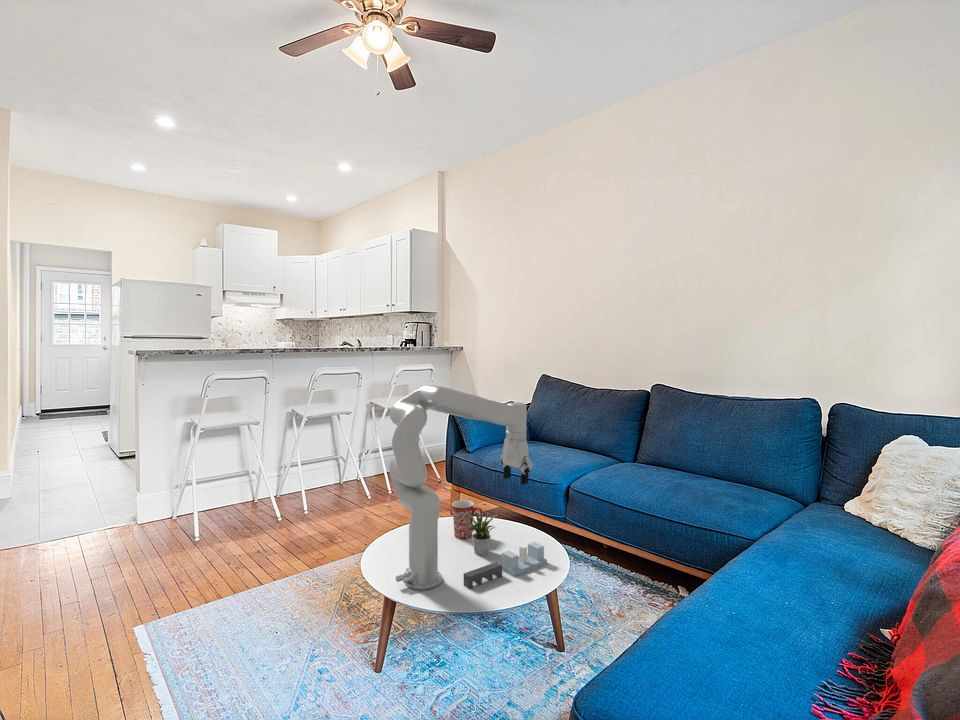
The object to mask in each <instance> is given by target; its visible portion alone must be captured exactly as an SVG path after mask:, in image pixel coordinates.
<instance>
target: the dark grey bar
mask: <svg viewBox="0 0 960 720" xmlns="http://www.w3.org/2000/svg"><path fill="white" fill-rule="evenodd" d="M494 576H495V577H496V578H503V570H502V565H501V564H500V563H499V562H498V561H496V562H492V563H490V564H487V565H484V566H481V567H479V568H475V569H472V570H470V571H467V572H463V586H464V587H465V588H467V589H468V590H471V589H473V588H474V583H475V584H477V585H478V586H481V585H482V584H483V579H484V578H485V579H486V580H487V581H488V582H489V581H490V582H492V581H493V580H494V578H493V577H494Z"/></svg>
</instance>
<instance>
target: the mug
mask: <svg viewBox="0 0 960 720" xmlns="http://www.w3.org/2000/svg"><path fill="white" fill-rule="evenodd" d="M451 507H452V517H453V532H454V533H453V534H454V537H455V538H456V539H458V538H459V540H467V538H468V539H470V538H472V535H473V532H471V533H469V531H470V530H474V528H473V527H471V526H469V524H472V523H473V524H474V522H473V521H474V520H473V519H472V517H471V515H470V514H469V513H468V512H470V513H471V514H472V516H473V517H474V514H475V512H474V511H476V512H477V510H478V511H480V516H479V518H480V521H481V517H484V514H482V513H484V511H483V509H482V508H481V507H480V506H477V507H476V506H475V507H474V502H473V501H471V500H467V499H464V500H461V499H460V500H456V501H454V502H452V503H451ZM467 511H468V512H467ZM463 517H468V518H463ZM470 518H471V519H472V520H473V521H472V520H471V519H470ZM469 520H470V521H471V522H472V523H471V522H470V521H469ZM474 525H475V524H474ZM475 526H476V525H475ZM477 526H478V525H477ZM465 528H468V529H465ZM474 531H475V530H474Z"/></svg>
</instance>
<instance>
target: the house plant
mask: <svg viewBox="0 0 960 720" xmlns="http://www.w3.org/2000/svg"><path fill="white" fill-rule="evenodd" d="M467 512H468V511H467ZM468 513H469V514H470V515H471V517H472V519H473V520H472V519H471V518H470V519H471V520H472V521H473V523H472V522H471V521H470V520H469V521H470V522H471V523H472V524H469V526H471V527H473V528H474V530H470V531H469V533H471V532H472V536H471V538H472V545H473V552H474V554H475V555H476V556H477V555H478V556H485V555H487V554H489V549H490V542H491V534H490V531H491V530H493V529H496V526H494V525H489V524H490V523H491V521H493V519H494V518H495V517H496V516H498V515H499V513H497V514H495V515H493V516H492V517H490V519H489V520H488V518H489V512H487V514H486V515H484V514H483V513H484V512H483V513H482V514H483V516H482V517H481V521H480V516H479V514H478V513H477V510H476V511H474V514H475V516H476V520H477V521H476V520H475V518H474V515H473V516H472V514H471V513H470V512H468ZM484 516H485V520H484V521H483V518H484ZM463 518H468V517H463ZM475 525H476V526H475ZM477 525H478V526H477ZM465 529H468V528H465ZM474 531H475V532H474Z"/></svg>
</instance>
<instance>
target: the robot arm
mask: <svg viewBox="0 0 960 720" xmlns="http://www.w3.org/2000/svg"><path fill="white" fill-rule="evenodd" d="M428 410H431V411H435V412H438V413H443V414H446V415H451V416H456V417H459V418H465V419H468V420H475V421H480V422H481V421H482V422H487V423H490V424H496V425H499V426H505V434H506V435H505V438H504V442H503V446H502V453H501V454H500V455H499V458H500V463H501V465H502V469H503V479H504V480H506V479H511V478H512V474H511V473H512V468H515V469H520V471H521V473H520V484H521V485H522V486H524V485H527V484H529V474H530V472H531V471H532V469H533V467H534V462H533V461H532V460H531V459H530V458H529V447H528V446H529V445H528V440H527V413H528V412H527V411H528V409H527V404H526V403H524V402H518V401H517V402H515V401H513V402H508V403H503V402H500V401H495V400H491V399H488V398H484V397H482V396H478V395H475V394H472V393H468V392H464V391H459V390H456V389H453V388H448V387H445V386H439V385H434V384H427V385H424V386H421V387H420V388H418V389H416V390H414V391H413V392H411V393H410V394H408V395H407V396H404V397H402V398H401V399H399V400H398V401H396V402H395V403H394V404H393V405H392V406H391V409H390V412H389V417H390V420H391V421H392V423H393V424H394V425H395V426H396V428H395V430H394V432H393V436H392V438H391V439H392V440H391V447H392V451H393V455H394V456H393V458H392V459H391V460H390V463H389V465H388V469H389V470H388V471H389V476H390V479H391V484H392V485H393V488H394V492H395V494H396V497H397V500H398V502H399V503H400V505H401V506H403V507H404V508H405V509H406V510H408V511H409V512H410V513H411V516H410V521H409V525H408V568H406V569H405V572H404V573H403V574H398V575H396V576H395V581H396V583H399V582H403V584H405V586H407V587H408V588H410V589H412V588H413V590H419V591H420V590H421V591H424V590H425V591H426V590H430V589H434V588H436V587H438V586H439V585H440V584H441V583H442V582H443V574H441V572H440V571H438V570H439V569H438V568H439V567H438V563H439V562H438V561H439V559H438V558H439V557H438V552H439V550H438V547H439V545H438V537H439V536H438V531H439V530H438V526H439V514H440V509H441V501H440V497H439V495H438V494H437V492H436V491H435V490H433V489H431V488H429V487H428V486H426V485H425V483H426V481H427V479H428V470H427V466H426V464H425V463H426V462H425V460H424V456H423V454H422V451H421V448H420V443H419V439H420V435H421V432H422V431H423V430H424V427H425V426H426V424H427V421H428V413H427V411H428Z"/></svg>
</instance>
